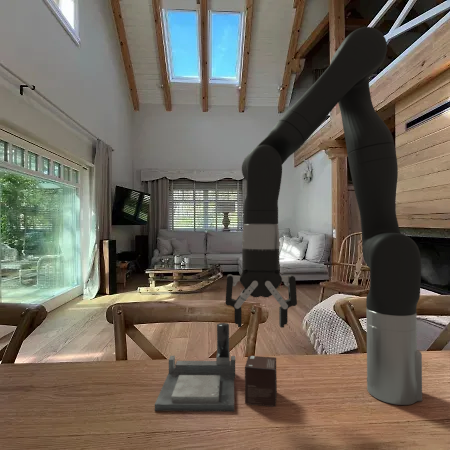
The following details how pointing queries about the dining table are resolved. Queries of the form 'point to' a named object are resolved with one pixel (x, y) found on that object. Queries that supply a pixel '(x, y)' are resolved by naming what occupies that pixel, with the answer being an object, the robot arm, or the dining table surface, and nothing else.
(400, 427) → the dining table surface
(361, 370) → the dining table surface
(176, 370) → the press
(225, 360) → the lever
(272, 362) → the box
